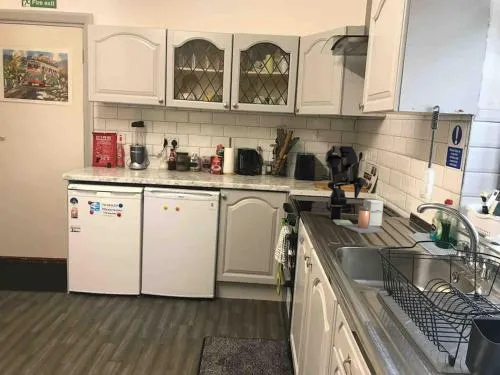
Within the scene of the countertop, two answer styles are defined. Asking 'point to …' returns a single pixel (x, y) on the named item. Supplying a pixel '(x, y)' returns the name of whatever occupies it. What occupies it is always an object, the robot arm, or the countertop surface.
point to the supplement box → (374, 211)
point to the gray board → (360, 230)
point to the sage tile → (342, 222)
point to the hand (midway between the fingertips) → (347, 200)
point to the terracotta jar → (363, 217)
